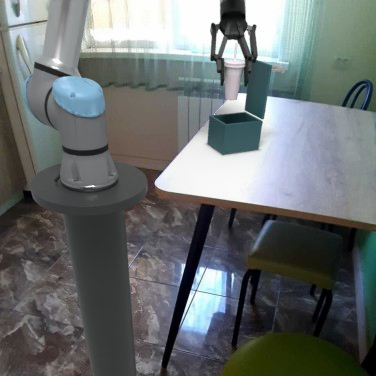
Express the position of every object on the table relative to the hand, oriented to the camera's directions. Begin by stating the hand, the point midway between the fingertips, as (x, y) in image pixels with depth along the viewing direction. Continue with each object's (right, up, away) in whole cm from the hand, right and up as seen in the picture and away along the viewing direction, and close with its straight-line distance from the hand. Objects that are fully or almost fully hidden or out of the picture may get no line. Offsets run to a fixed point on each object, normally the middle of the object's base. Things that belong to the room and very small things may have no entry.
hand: (234, 83), depth 120 cm
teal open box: (+1, -11, +17) cm, 20 cm away
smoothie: (0, -1, +6) cm, 6 cm away
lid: (+8, +3, +8) cm, 11 cm away
